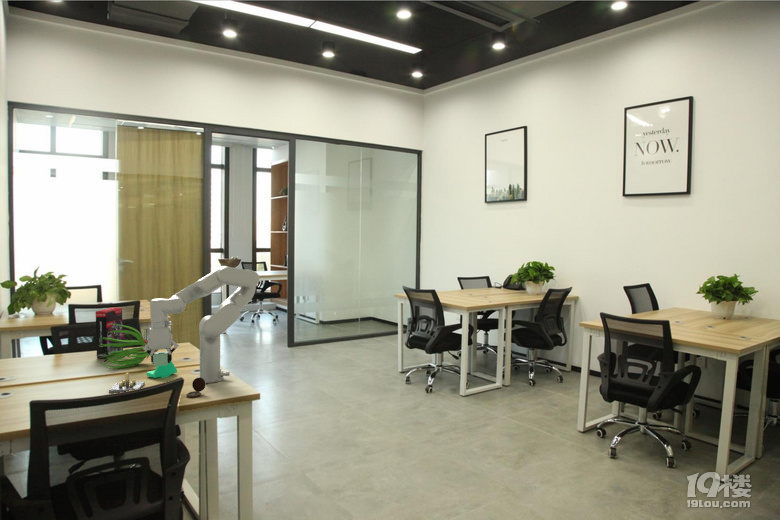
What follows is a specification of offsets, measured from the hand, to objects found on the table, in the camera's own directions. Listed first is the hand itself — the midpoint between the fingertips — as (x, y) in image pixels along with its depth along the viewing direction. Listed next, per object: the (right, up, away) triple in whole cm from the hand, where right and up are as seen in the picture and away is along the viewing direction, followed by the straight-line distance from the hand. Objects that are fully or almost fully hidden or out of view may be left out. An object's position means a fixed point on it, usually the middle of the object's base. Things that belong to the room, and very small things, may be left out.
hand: (161, 362), depth 237 cm
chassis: (-13, -11, -6) cm, 18 cm away
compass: (+22, -12, -15) cm, 29 cm away
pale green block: (0, -1, 0) cm, 1 cm away
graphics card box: (-56, -8, +57) cm, 80 cm away
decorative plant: (-33, -9, +34) cm, 48 cm away
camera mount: (-7, -10, +16) cm, 21 cm away
